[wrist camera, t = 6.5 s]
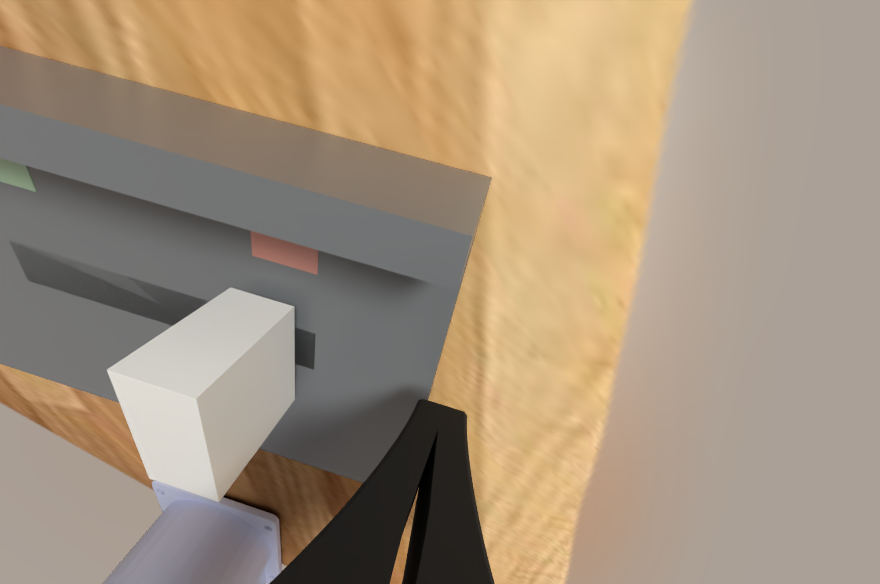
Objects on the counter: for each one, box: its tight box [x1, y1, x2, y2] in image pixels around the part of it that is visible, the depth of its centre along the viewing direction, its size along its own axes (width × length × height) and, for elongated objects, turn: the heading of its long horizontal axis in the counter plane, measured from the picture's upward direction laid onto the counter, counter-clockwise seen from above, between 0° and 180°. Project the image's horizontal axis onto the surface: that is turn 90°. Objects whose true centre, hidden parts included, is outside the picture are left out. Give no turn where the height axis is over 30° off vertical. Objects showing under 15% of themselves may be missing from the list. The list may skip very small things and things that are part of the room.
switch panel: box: [0, 46, 491, 483], centre depth 11 cm, size 13×19×4 cm
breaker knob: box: [107, 288, 295, 502], centre depth 10 cm, size 4×2×4 cm, turn 168°
